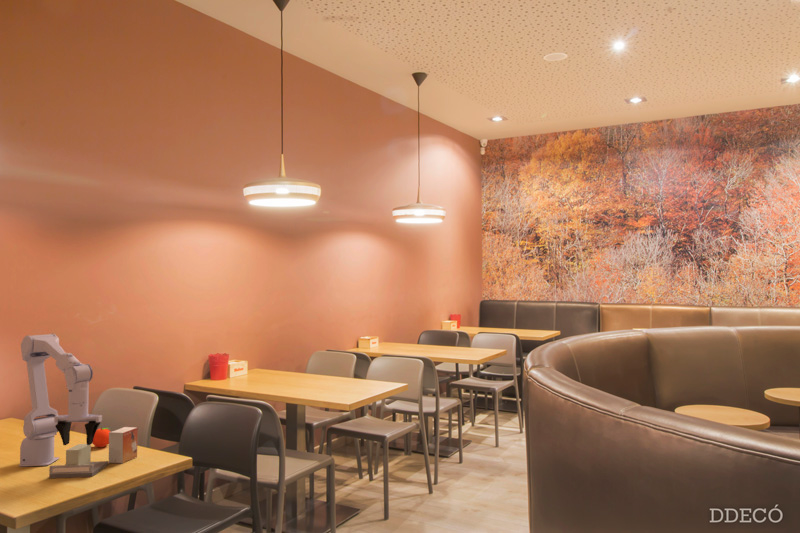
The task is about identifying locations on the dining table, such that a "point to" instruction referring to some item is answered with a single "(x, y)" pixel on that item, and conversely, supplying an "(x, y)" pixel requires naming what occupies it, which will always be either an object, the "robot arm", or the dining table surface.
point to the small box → (123, 444)
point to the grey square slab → (76, 470)
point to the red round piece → (101, 437)
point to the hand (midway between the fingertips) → (77, 444)
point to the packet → (78, 455)
